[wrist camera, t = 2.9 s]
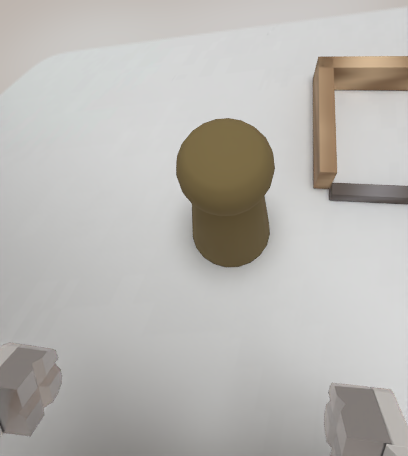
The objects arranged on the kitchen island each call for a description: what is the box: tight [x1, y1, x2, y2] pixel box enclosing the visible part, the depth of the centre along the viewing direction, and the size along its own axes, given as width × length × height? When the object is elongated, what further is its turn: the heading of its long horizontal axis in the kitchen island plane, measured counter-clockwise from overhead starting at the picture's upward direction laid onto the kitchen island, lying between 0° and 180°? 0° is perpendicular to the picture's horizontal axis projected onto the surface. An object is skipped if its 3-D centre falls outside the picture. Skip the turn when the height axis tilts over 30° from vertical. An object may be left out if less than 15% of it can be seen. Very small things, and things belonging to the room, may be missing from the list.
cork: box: [176, 118, 275, 267], centre depth 22 cm, size 6×6×11 cm
